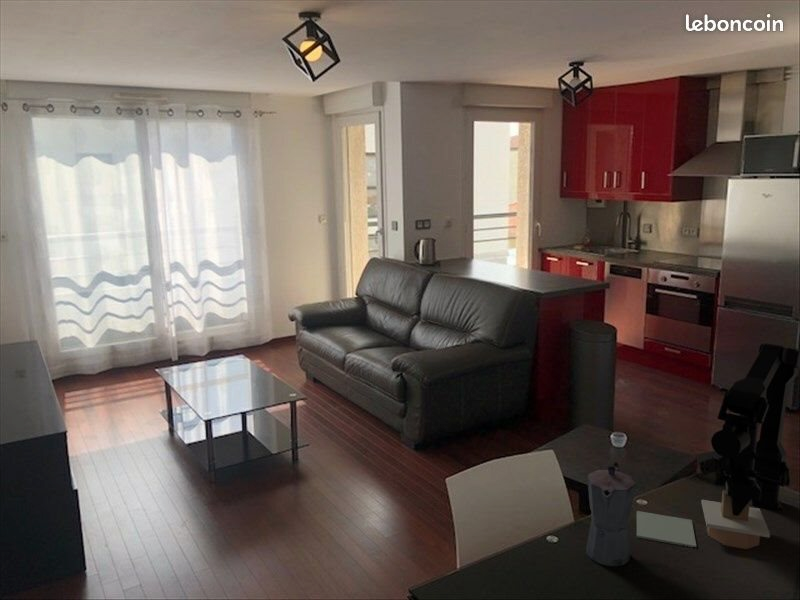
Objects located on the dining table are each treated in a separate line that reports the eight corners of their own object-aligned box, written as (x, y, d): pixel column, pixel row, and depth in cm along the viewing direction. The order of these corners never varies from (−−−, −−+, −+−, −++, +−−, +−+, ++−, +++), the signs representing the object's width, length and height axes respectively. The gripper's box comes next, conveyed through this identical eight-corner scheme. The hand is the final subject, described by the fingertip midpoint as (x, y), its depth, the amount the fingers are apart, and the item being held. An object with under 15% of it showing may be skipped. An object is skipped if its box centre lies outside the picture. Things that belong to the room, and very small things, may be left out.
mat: (636, 512, 150) (636, 510, 150) (691, 522, 146) (691, 520, 146) (636, 537, 139) (636, 535, 139) (696, 548, 135) (696, 545, 135)
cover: (701, 502, 147) (703, 479, 146) (759, 511, 143) (761, 487, 142) (706, 527, 136) (709, 501, 135) (769, 537, 132) (772, 511, 131)
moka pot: (579, 568, 127) (584, 475, 124) (586, 531, 141) (592, 447, 138) (629, 579, 124) (636, 483, 121) (631, 540, 138) (638, 454, 135)
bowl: (705, 521, 147) (706, 505, 146) (753, 529, 143) (755, 513, 143) (709, 542, 137) (711, 525, 137) (761, 551, 134) (763, 534, 133)
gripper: (696, 425, 148) (691, 488, 151) (704, 455, 131) (698, 524, 134) (749, 432, 145) (743, 495, 147) (765, 463, 127) (757, 534, 130)
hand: (734, 511), depth 139 cm, fingers open, 3 cm apart
